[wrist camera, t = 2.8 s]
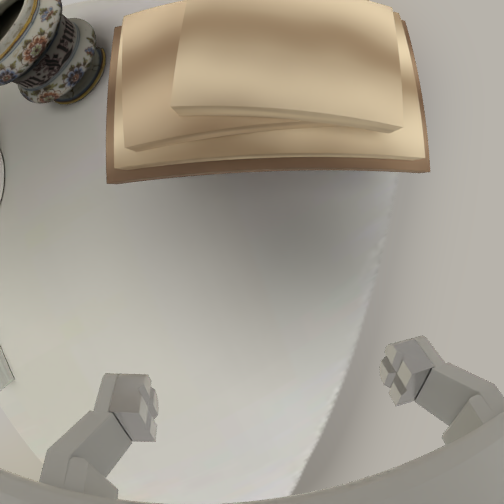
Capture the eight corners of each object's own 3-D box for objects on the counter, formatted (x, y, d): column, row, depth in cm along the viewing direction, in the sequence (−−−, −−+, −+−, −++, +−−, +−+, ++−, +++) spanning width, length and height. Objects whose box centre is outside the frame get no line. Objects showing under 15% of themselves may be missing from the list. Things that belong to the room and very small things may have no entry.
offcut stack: (412, 160, 18) (457, 152, 13) (125, 170, 18) (83, 163, 13) (390, 23, 16) (419, -12, 11) (131, 29, 16) (102, -7, 11)
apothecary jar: (130, 52, 30) (61, -19, 13) (74, 127, 32) (-23, 97, 15) (80, 26, 29) (13, -29, 12) (31, 92, 31) (-52, 62, 13)
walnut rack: (359, 180, 33) (430, 171, 18) (169, 188, 34) (106, 183, 18) (350, 81, 31) (404, 20, 16) (167, 88, 32) (114, 27, 16)
